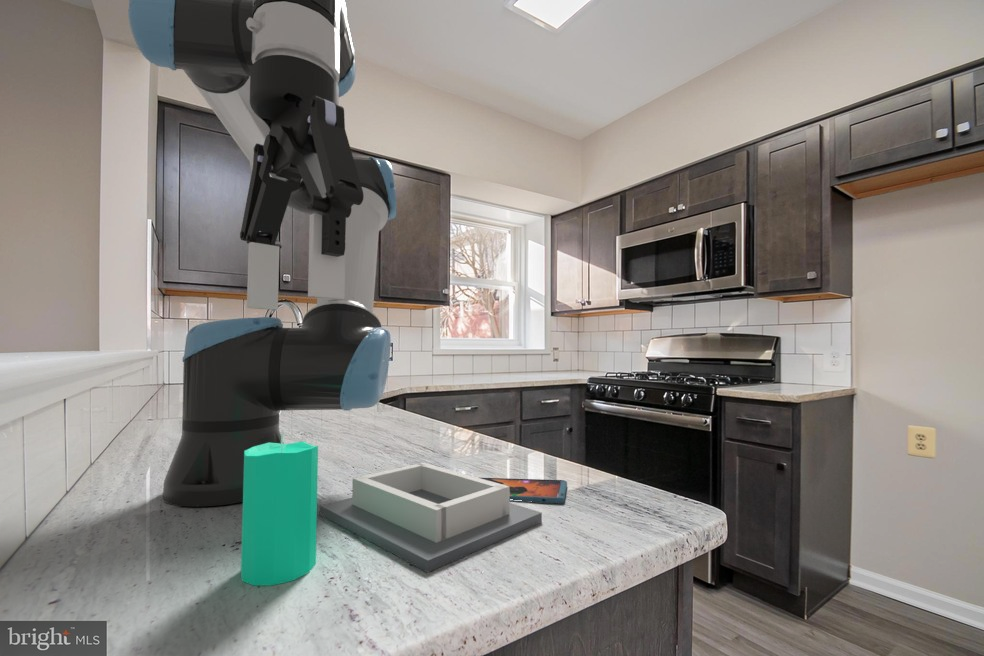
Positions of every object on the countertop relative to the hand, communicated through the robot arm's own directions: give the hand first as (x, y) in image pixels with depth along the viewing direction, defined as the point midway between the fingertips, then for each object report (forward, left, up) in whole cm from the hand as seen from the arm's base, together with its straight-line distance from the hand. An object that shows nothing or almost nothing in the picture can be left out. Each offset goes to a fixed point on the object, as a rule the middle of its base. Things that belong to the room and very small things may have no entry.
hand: (290, 304), depth 41 cm
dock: (0, +16, -23) cm, 28 cm away
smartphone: (0, +30, -24) cm, 38 cm away
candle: (0, 0, -23) cm, 23 cm away
